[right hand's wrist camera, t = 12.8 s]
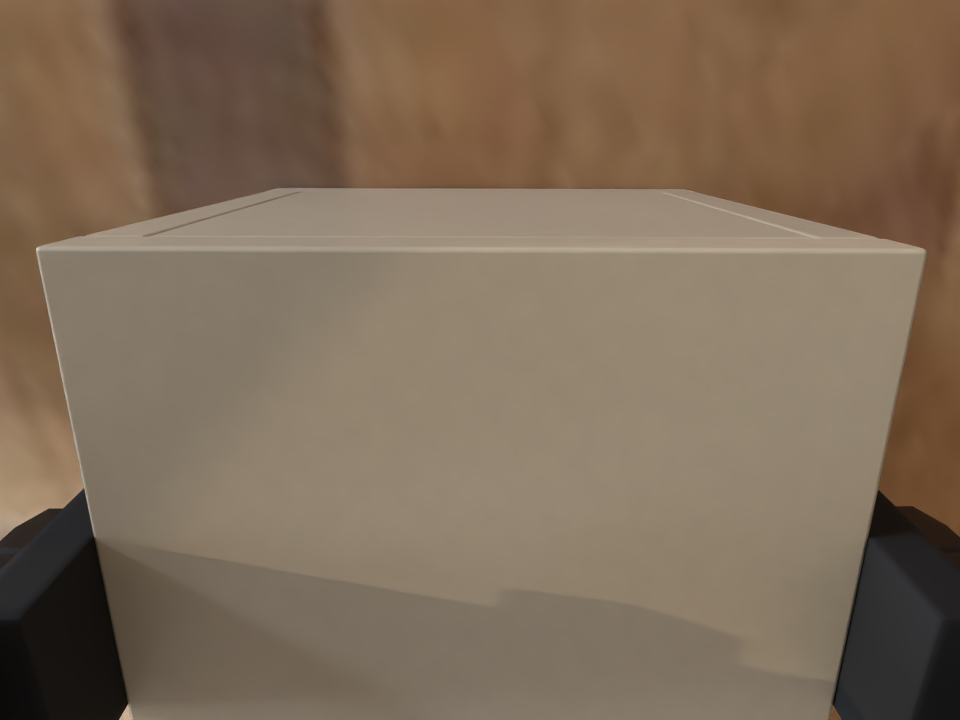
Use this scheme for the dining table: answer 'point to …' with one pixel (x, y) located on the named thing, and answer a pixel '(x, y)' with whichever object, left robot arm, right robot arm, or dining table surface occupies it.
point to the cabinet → (480, 450)
